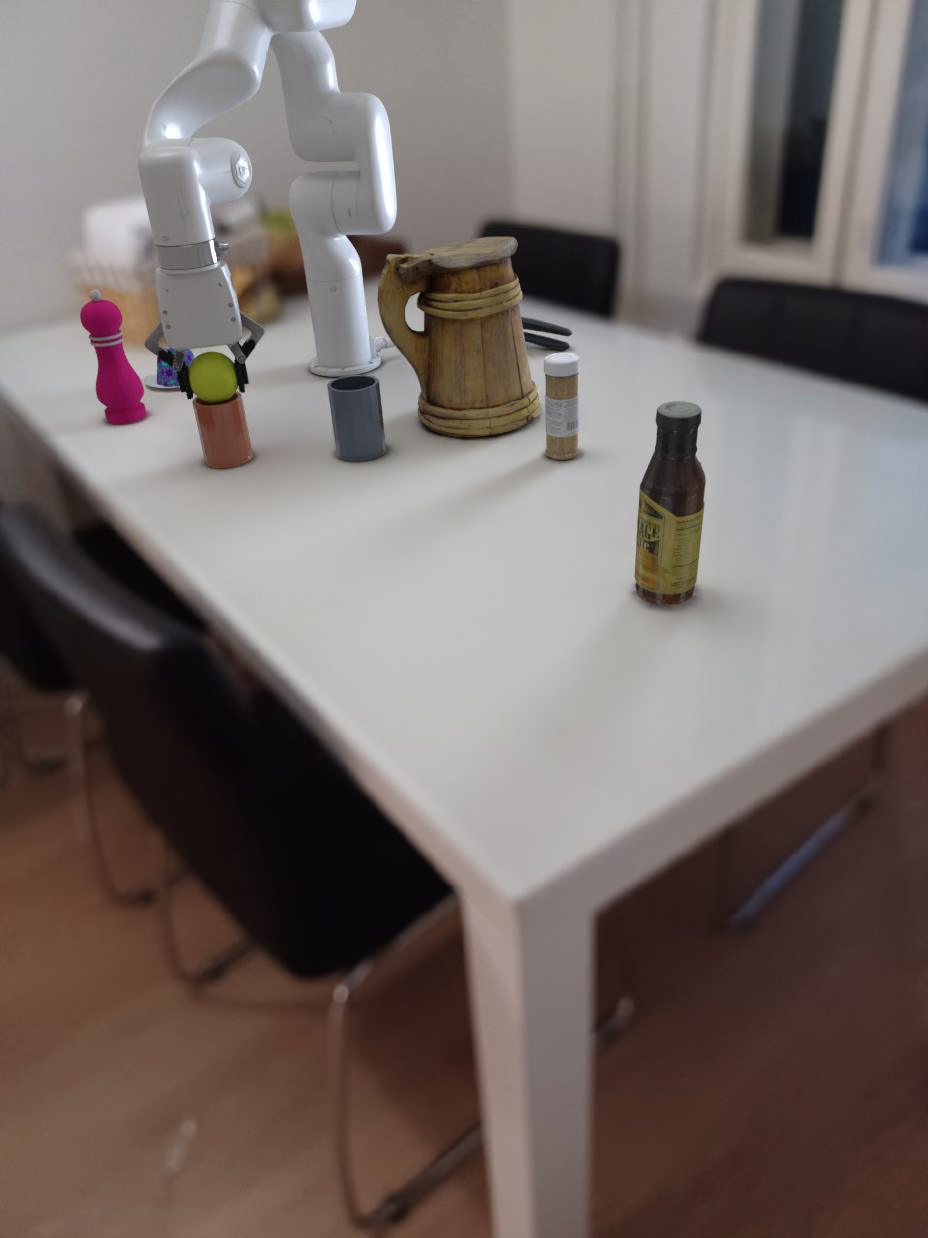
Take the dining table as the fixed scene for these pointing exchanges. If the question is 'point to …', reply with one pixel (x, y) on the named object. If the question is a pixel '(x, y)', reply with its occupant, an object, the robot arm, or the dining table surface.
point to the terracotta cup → (223, 432)
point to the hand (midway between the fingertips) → (216, 391)
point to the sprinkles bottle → (561, 405)
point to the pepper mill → (112, 362)
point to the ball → (213, 377)
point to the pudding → (167, 372)
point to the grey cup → (357, 417)
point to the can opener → (548, 328)
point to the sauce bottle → (671, 509)
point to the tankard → (463, 335)
